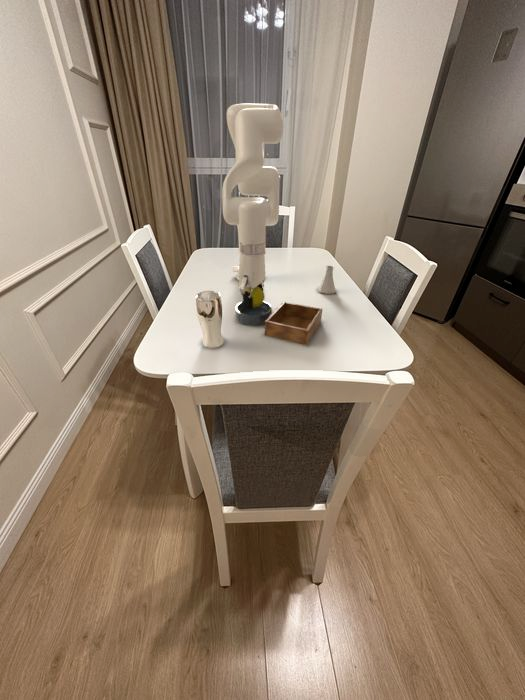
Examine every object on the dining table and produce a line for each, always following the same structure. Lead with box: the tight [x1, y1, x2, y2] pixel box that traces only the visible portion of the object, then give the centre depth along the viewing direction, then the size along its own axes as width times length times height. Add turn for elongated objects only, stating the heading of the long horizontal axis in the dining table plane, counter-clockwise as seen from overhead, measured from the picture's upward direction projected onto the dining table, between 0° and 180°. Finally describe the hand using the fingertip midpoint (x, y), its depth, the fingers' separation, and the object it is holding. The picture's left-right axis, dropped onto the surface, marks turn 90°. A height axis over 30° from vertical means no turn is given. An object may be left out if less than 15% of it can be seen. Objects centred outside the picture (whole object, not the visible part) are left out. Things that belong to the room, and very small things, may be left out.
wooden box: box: [264, 301, 323, 346], centre depth 90 cm, size 14×16×5 cm
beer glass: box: [195, 290, 224, 349], centre depth 80 cm, size 7×7×15 cm
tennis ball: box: [246, 285, 265, 308], centre depth 93 cm, size 7×7×7 cm
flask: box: [317, 265, 336, 295], centre depth 115 cm, size 7×7×10 cm
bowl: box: [234, 300, 273, 327], centre depth 96 cm, size 12×12×4 cm
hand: (253, 302), depth 94 cm, fingers closed on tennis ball, 7 cm apart
